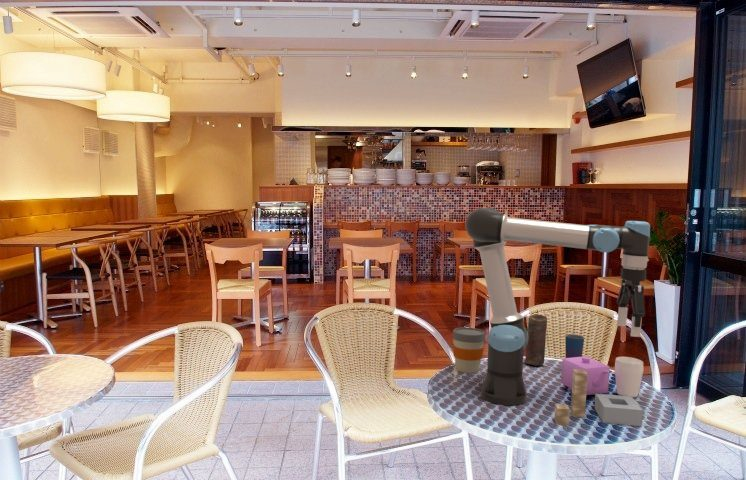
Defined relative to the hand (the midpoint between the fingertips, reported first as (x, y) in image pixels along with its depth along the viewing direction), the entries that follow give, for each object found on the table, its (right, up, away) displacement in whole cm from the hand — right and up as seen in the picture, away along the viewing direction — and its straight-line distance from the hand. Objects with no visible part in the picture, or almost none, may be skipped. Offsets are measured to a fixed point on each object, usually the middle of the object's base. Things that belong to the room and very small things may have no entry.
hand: (628, 331), depth 179 cm
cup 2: (+4, -24, +9) cm, 25 cm away
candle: (-20, -20, +39) cm, 48 cm away
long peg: (-21, -25, -11) cm, 34 cm away
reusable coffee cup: (-48, -20, +31) cm, 61 cm away
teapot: (-11, -23, +8) cm, 27 cm away
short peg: (-28, -25, -16) cm, 41 cm away
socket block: (-9, -25, -12) cm, 29 cm away
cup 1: (-8, -22, +28) cm, 36 cm away
